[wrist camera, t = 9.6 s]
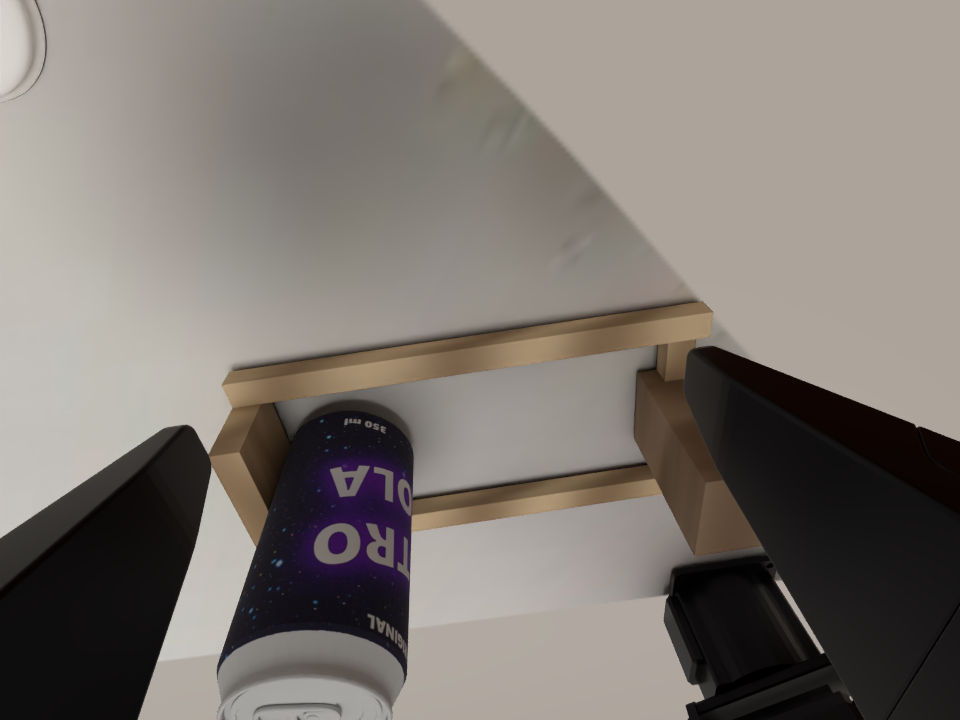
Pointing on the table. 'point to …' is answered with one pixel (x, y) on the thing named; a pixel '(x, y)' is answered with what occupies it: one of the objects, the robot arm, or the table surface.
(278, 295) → the table surface
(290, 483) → the beverage can
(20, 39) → the chess piece
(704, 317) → the wooden frame
